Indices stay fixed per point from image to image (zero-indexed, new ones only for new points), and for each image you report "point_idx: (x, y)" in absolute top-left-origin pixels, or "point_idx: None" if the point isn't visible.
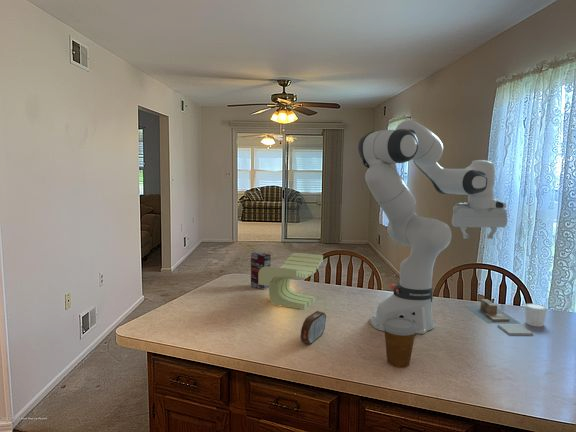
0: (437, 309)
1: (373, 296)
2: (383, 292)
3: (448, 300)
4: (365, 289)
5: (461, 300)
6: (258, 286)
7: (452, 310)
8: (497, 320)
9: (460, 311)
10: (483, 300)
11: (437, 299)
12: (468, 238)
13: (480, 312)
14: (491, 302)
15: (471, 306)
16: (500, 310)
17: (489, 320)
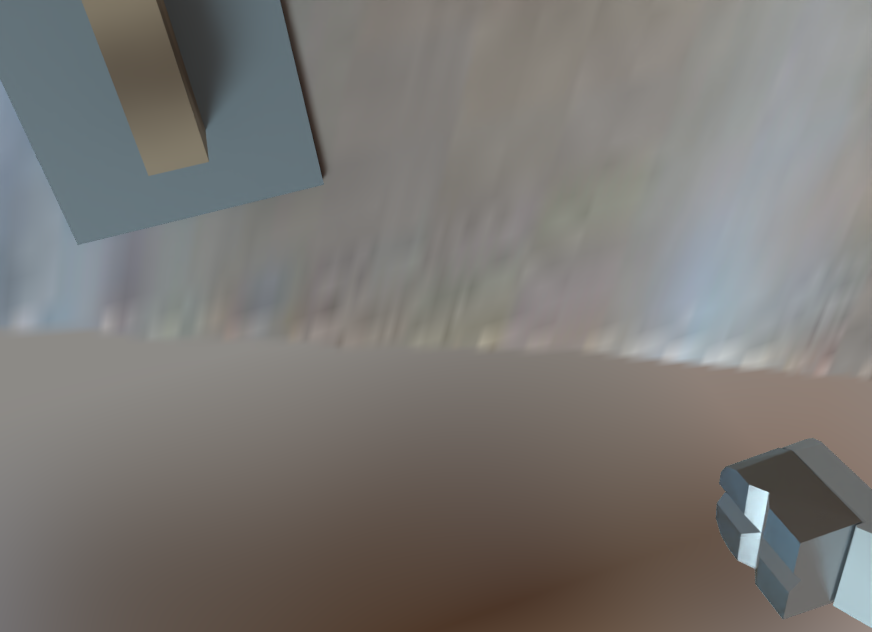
0: (542, 62)
1: (854, 243)
2: (766, 339)
3: (407, 302)
4: (842, 361)
5: (312, 330)
6: None
7: (435, 63)
8: None
9: (377, 51)
10: (191, 122)
11: (478, 301)
12: (728, 468)
13: (220, 25)
14: (119, 72)
15: (270, 177)
16: (26, 129)
17: None
